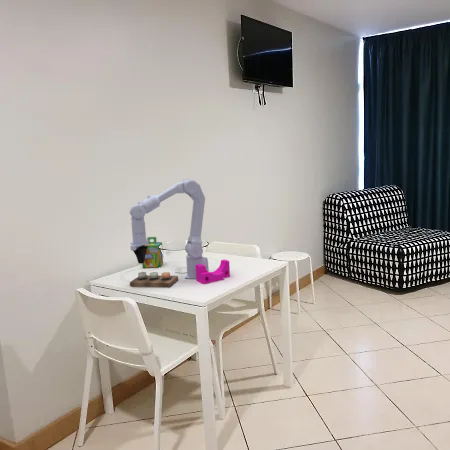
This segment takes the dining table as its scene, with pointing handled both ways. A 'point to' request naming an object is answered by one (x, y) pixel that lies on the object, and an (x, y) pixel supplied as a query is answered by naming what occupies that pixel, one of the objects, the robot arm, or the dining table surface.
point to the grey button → (142, 274)
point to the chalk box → (153, 254)
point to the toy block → (212, 273)
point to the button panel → (154, 281)
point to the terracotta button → (165, 275)
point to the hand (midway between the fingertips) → (141, 263)
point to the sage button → (153, 274)
